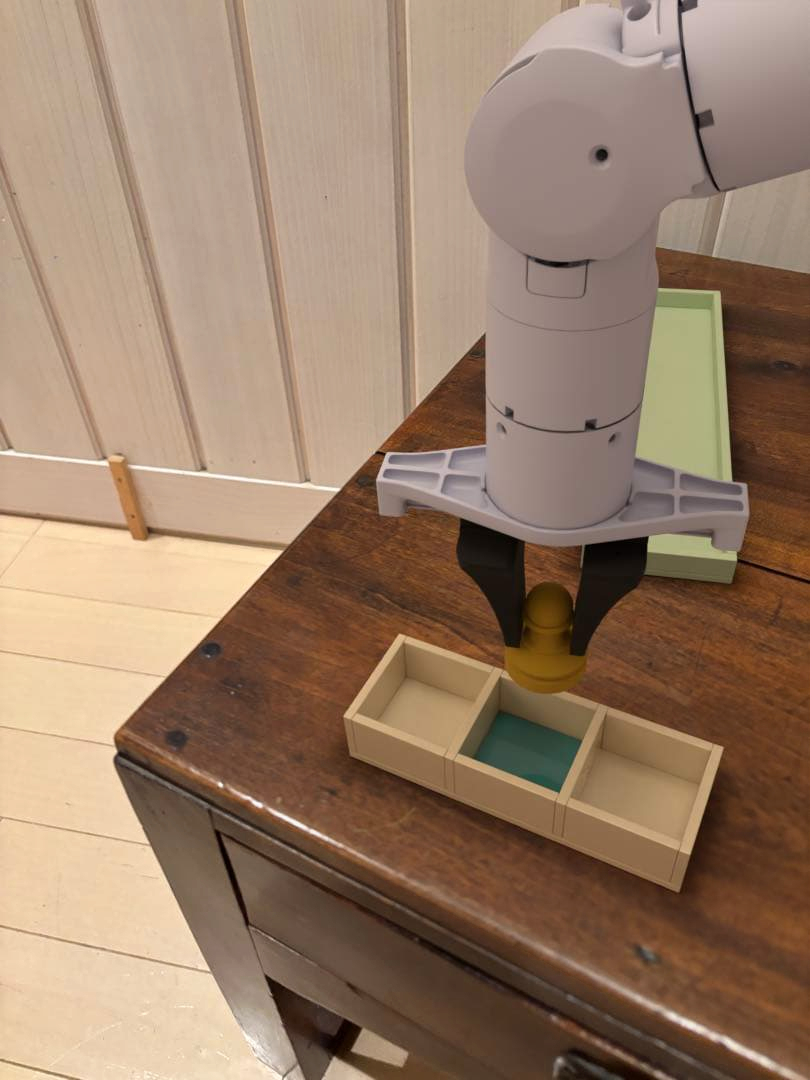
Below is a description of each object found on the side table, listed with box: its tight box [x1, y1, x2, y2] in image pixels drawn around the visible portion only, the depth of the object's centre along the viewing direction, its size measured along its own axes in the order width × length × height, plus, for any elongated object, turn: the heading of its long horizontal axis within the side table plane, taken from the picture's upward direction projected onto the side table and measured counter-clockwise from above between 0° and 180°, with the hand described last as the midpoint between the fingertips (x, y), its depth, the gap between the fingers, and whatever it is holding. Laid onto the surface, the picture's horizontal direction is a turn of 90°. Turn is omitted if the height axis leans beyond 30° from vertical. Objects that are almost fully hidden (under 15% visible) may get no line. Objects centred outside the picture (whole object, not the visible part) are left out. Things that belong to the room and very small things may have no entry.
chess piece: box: [503, 581, 590, 694], centre depth 42 cm, size 4×4×5 cm
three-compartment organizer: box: [342, 633, 725, 893], centre depth 47 cm, size 18×6×4 cm, turn 63°
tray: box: [579, 287, 738, 585], centre depth 69 cm, size 34×9×2 cm, turn 168°
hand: (547, 635), depth 43 cm, fingers closed on chess piece, 2 cm apart
